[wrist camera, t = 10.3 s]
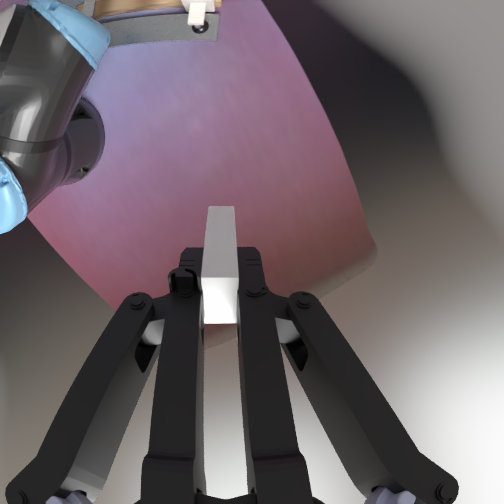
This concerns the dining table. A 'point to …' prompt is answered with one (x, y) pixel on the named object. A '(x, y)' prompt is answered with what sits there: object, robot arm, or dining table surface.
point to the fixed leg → (89, 7)
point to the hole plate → (161, 29)
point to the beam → (133, 6)
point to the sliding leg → (198, 11)
